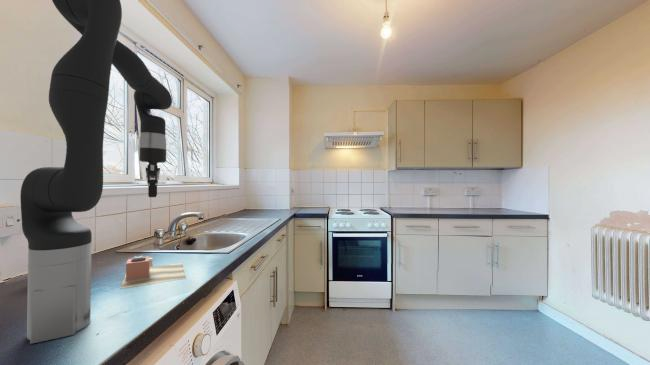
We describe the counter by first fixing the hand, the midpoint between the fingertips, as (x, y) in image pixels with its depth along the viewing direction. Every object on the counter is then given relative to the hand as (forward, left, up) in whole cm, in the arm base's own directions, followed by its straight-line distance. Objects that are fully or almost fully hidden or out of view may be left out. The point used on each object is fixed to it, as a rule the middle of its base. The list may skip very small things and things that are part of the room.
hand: (152, 196), depth 89 cm
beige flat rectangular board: (-6, -1, -26) cm, 26 cm away
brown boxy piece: (-6, +3, -24) cm, 25 cm away
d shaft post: (-6, +3, -26) cm, 26 cm away
